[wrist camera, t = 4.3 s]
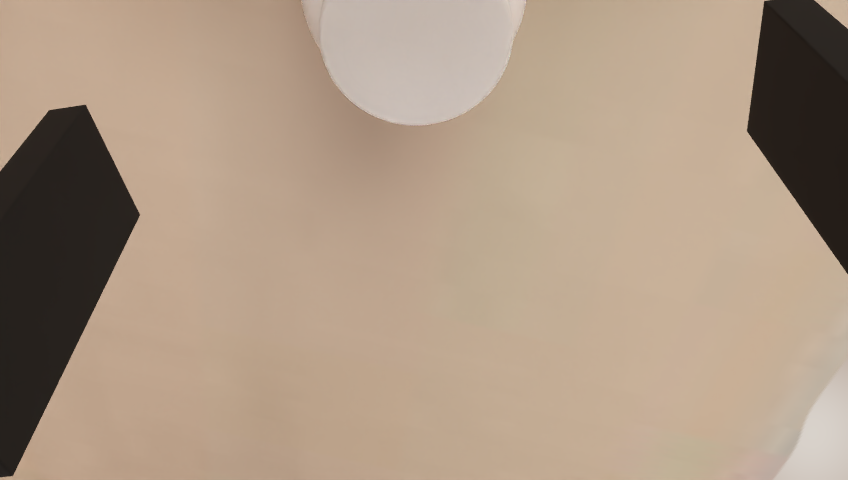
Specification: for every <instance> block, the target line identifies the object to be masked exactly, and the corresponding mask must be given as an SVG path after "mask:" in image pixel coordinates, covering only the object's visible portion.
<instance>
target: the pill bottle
mask: <svg viewBox="0 0 848 480" xmlns="http://www.w3.org/2000/svg"><path fill="white" fill-rule="evenodd" d="M301 1H302V7H303V12H304V16H305V19H306V22H307V25H308V27H309V30H310V32H311V35H312V37H313V39H314V40H315V42H316V44H317V46H318V47H319V49H320V51H321V55H322V58H323V61H324V64H325V66H326V69H327V71H328V73H329V75H330V77H331V78H332V80H333V82H334V83H335V85H336V86H337V87H338V88H339V90H340V91H341V92H342V93H343V95H344V96H345V97H346V98H347V99H348V100H350V101H351V102H352V103H353V104H354V105H356V106H357V107H358V108H360V109H361V110H363V111H365V112H366V113H368V114H370V115H372V116H374V117H376V118H379V119H381V120H384V121H387V122H391V123H395V124H400V125H409V126H424V125H432V124H437V123H441V122H445V121H448V120H451V119H453V118H456V117H458V116H460V115H462V114H464V113H466V112H468V111H469V110H471V109H472V108H474V107H475V106H476V105H478V104H479V103H480V102H481V101H483V100H484V99H485V98H486V97H487V96H488V95H489V93H490V92H491V91H492V90H493V89H494V87H495V86H496V85H497V83H498V82H499V80H500V78H501V77H502V75H503V73H504V71H505V69H506V66H507V64H508V61H509V58H510V54H511V50H512V44H513V40H514V38H515V36H516V34H517V32H518V30H519V27H520V24H521V21H522V18H523V15H524V11H525V6H526V0H301Z"/></svg>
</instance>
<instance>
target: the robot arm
mask: <svg viewBox="0 0 848 480" xmlns="http://www.w3.org/2000/svg"><path fill="white" fill-rule="evenodd" d="M747 132H748V133H749V135H750V136H751V137H752V139H753V140H754V142H755V143H756V145H757V146H758V147H759V149H760V150H761V152H762V153H763V154H764V156H765V157H766V159H767V160H768V162H769V163H770V164H771V166H772V167H773V169H774V170H775V171H776V173H777V174H778V176H779V177H780V179H781V180H782V181H783V183H784V184H785V186H786V187H787V189H788V190H789V191H790V193H791V194H792V196H793V197H794V198H795V200H796V201H797V203H798V204H799V206H800V207H801V208H802V210H803V211H804V213H805V214H806V215H807V217H808V218H809V220H810V221H811V223H812V224H813V225H814V227H815V228H816V230H817V231H818V233H819V234H820V235H821V237H822V238H823V240H824V241H825V242H826V244H827V245H828V247H829V248H830V250H831V251H832V252H833V254H834V255H835V257H836V258H837V259H838V261H839V262H840V264H841V265H842V267H843V268H844V269H845V271H846V272H847V274H848V29H847V28H846V27H845V26H844V25H842V24H841V23H840V22H839V21H838V20H837V19H835V18H834V17H833V16H832V15H831V14H830V13H828V12H827V11H826V10H825V9H824V8H823V7H821V6H820V5H819V4H818V3H817V2H816V1H814V0H769V1H764V8H763V15H762V23H761V30H760V38H759V45H758V53H757V60H756V68H755V75H754V83H753V90H752V98H751V105H750V113H749V120H748V128H747ZM139 216H140V214H139V212H138V210H137V208H136V206H135V204H134V202H133V200H132V198H131V196H130V194H129V192H128V190H127V188H126V186H125V184H124V182H123V180H122V178H121V176H120V173H119V171H118V169H117V167H116V165H115V163H114V161H113V159H112V157H111V155H110V153H109V151H108V149H107V147H106V145H105V143H104V141H103V139H102V137H101V135H100V133H99V131H98V129H97V127H96V125H95V123H94V121H93V119H92V117H91V115H90V113H89V111H88V109H87V107H86V105H81V106H74V107H68V108H61V109H55V110H49V111H48V112H47V114H46V115H45V116H44V117H43V119H42V120H41V121H40V122H39V124H38V125H37V126H36V127H35V129H34V130H33V131H32V133H31V134H30V135H29V136H28V138H27V139H26V140H25V141H24V143H23V144H22V145H21V146H20V148H19V149H18V150H17V151H16V153H15V154H14V155H13V156H12V158H11V159H10V160H9V161H8V163H7V164H6V165H5V166H4V168H3V169H2V170H1V171H0V477H7V476H13V474H14V472H15V470H16V468H17V466H18V464H19V462H20V460H21V458H22V456H23V454H24V452H25V450H26V448H27V446H28V444H29V442H30V440H31V437H32V435H33V433H34V431H35V429H36V427H37V425H38V423H39V421H40V419H41V417H42V415H43V413H44V411H45V409H46V407H47V405H48V403H49V401H50V398H51V396H52V394H53V392H54V390H55V388H56V386H57V384H58V382H59V380H60V378H61V376H62V374H63V372H64V370H65V368H66V366H67V364H68V362H69V360H70V357H71V355H72V353H73V351H74V349H75V347H76V345H77V343H78V341H79V339H80V337H81V335H82V333H83V331H84V329H85V327H86V325H87V323H88V321H89V318H90V316H91V314H92V312H93V310H94V308H95V306H96V304H97V302H98V300H99V298H100V296H101V294H102V292H103V290H104V288H105V286H106V284H107V282H108V279H109V277H110V275H111V273H112V271H113V269H114V267H115V265H116V263H117V261H118V259H119V257H120V255H121V253H122V251H123V249H124V247H125V245H126V243H127V240H128V238H129V236H130V234H131V232H132V230H133V228H134V226H135V224H136V222H137V220H138V218H139Z"/></svg>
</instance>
